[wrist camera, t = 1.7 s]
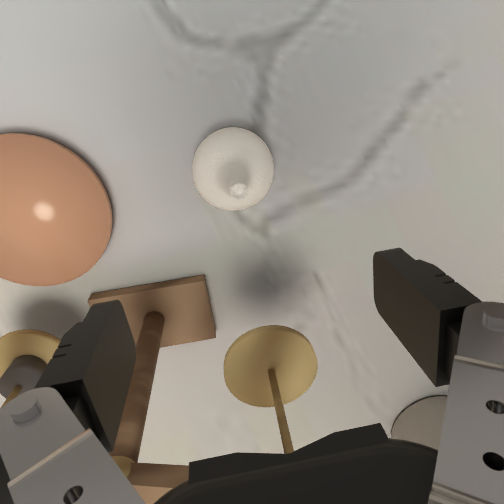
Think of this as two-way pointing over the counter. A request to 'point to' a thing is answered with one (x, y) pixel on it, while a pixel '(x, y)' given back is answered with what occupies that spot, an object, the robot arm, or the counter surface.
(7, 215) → the dish
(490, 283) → the counter surface
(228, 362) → the balance
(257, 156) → the garlic bulb
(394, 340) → the counter surface
